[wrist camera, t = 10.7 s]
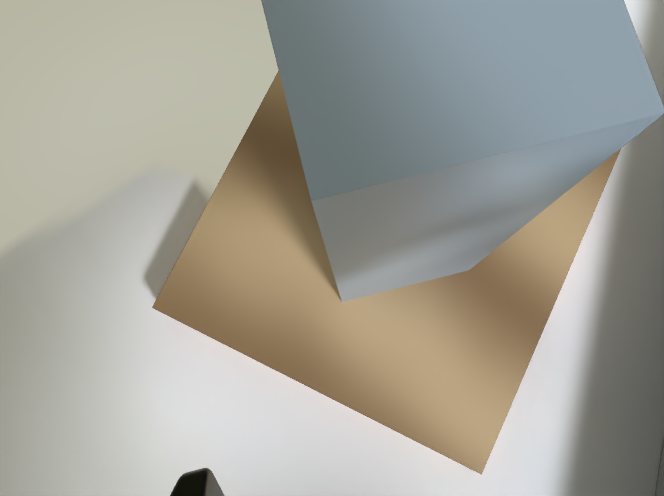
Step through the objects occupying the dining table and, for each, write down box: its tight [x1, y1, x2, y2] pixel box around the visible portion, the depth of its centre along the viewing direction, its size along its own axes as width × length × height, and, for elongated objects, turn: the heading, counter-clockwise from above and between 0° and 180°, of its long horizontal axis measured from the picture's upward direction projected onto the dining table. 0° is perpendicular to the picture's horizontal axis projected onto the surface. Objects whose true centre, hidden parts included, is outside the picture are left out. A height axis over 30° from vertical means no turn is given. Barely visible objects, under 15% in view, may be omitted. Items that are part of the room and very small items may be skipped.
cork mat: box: [152, 71, 621, 474], centre depth 19 cm, size 11×11×1 cm
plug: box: [261, 0, 664, 302], centre depth 13 cm, size 4×4×12 cm
